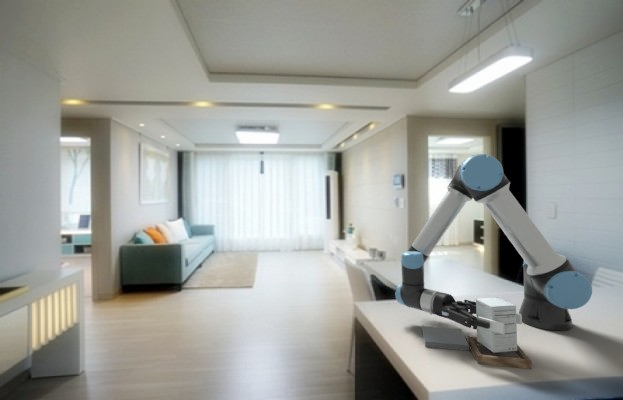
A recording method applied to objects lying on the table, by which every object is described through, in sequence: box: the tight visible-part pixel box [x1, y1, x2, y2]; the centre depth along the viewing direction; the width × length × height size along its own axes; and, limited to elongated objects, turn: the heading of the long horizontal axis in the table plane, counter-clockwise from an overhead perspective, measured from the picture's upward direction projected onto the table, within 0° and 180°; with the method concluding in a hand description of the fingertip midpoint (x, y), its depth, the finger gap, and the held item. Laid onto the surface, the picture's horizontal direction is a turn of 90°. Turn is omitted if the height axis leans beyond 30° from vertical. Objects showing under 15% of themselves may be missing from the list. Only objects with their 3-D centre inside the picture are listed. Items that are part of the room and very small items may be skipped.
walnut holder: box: [467, 336, 532, 370], centre depth 89 cm, size 12×12×2 cm
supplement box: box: [475, 296, 518, 353], centre depth 89 cm, size 7×7×13 cm
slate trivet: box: [421, 325, 470, 351], centre depth 99 cm, size 12×12×2 cm
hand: (512, 323), depth 86 cm, fingers closed on supplement box, 10 cm apart
